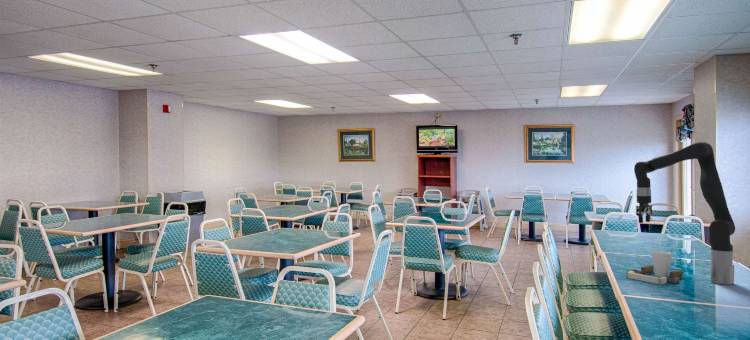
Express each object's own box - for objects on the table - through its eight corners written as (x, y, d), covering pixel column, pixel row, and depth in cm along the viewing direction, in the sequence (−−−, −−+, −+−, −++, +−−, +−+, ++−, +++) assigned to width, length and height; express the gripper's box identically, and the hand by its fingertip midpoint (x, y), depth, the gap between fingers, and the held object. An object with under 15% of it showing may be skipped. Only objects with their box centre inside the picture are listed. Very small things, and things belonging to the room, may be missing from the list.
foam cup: (675, 278, 257) (675, 254, 256) (657, 277, 257) (658, 254, 256) (664, 273, 266) (664, 251, 266) (648, 273, 266) (648, 250, 266)
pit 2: (679, 282, 247) (679, 277, 247) (674, 283, 244) (674, 279, 244) (668, 280, 252) (668, 275, 252) (663, 281, 249) (663, 277, 249)
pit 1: (642, 275, 263) (642, 271, 263) (637, 276, 260) (637, 272, 259) (632, 273, 267) (632, 269, 267) (627, 274, 264) (627, 270, 264)
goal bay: (666, 282, 246) (666, 277, 246) (661, 284, 243) (661, 278, 243) (631, 276, 261) (631, 270, 261) (626, 277, 258) (626, 272, 258)
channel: (682, 277, 257) (682, 270, 257) (673, 280, 252) (673, 272, 251) (649, 271, 271) (649, 264, 271) (641, 274, 266) (641, 267, 266)
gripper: (644, 195, 272) (645, 223, 272) (656, 194, 280) (656, 222, 280) (631, 195, 279) (631, 222, 278) (643, 194, 287) (643, 221, 286)
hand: (644, 222), depth 279 cm, fingers open, 8 cm apart
